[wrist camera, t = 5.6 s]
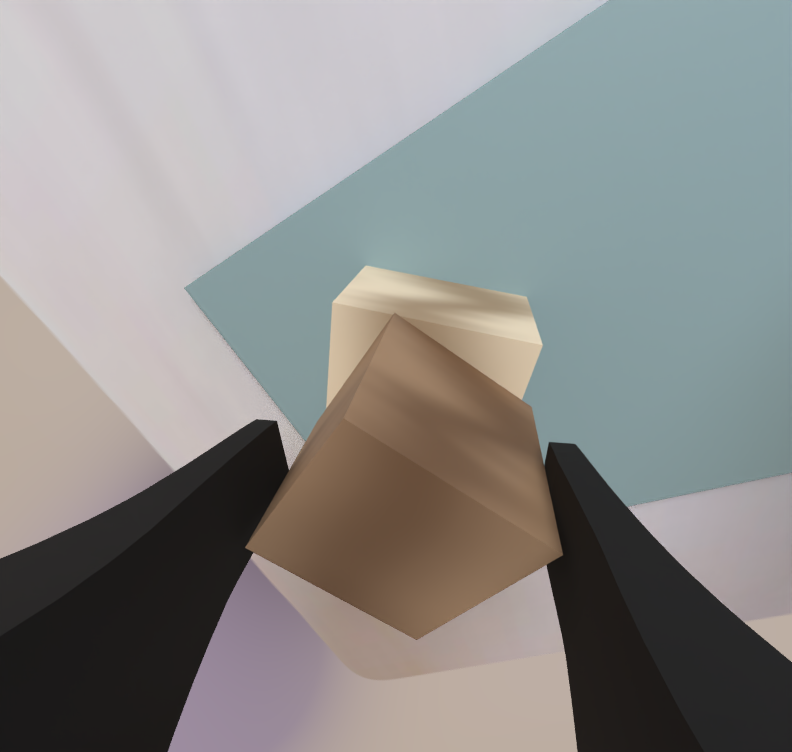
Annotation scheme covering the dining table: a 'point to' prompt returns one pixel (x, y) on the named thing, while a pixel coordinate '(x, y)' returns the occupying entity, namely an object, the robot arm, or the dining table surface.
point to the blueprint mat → (581, 242)
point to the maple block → (435, 325)
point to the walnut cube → (414, 489)
